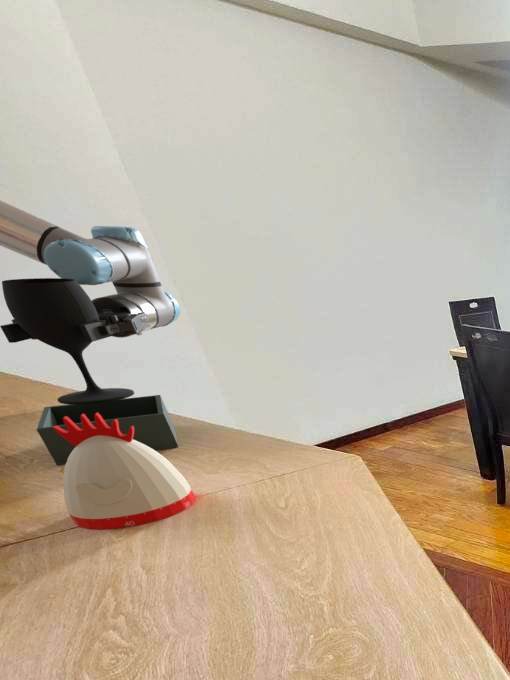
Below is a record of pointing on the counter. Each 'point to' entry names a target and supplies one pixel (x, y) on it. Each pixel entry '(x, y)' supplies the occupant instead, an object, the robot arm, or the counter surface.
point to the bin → (138, 412)
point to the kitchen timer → (118, 478)
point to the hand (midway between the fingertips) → (47, 334)
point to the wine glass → (59, 326)
